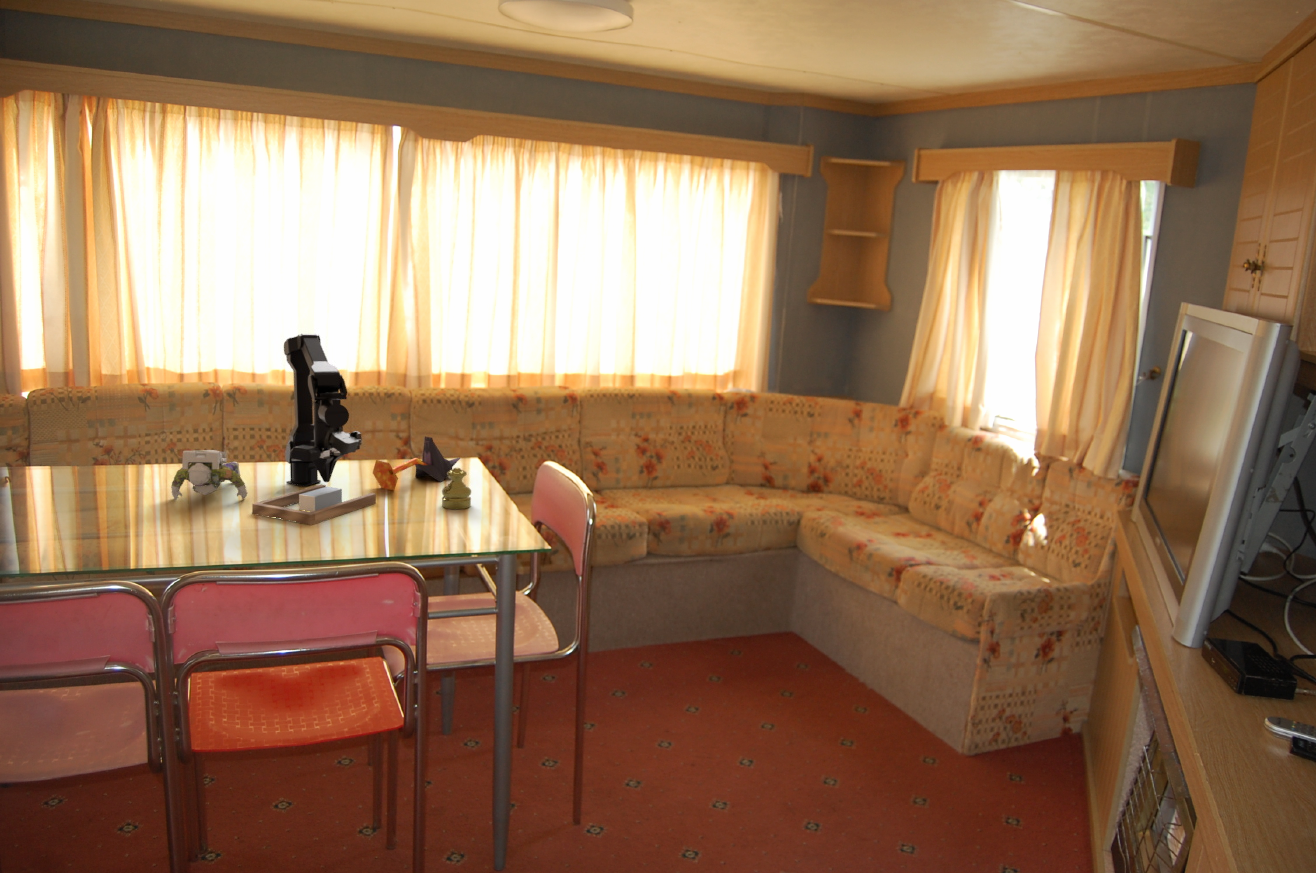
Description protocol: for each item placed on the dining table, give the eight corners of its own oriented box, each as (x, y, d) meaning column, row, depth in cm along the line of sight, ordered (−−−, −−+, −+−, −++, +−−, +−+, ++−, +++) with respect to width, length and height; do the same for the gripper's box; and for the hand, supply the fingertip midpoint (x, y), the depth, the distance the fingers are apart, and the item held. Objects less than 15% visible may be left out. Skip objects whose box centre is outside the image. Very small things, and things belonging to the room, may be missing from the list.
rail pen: (252, 514, 221) (252, 503, 220) (321, 493, 242) (321, 484, 242) (310, 525, 214) (310, 514, 214) (375, 503, 236) (375, 493, 236)
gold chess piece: (455, 500, 243) (456, 463, 241) (477, 505, 239) (477, 468, 237) (435, 506, 237) (436, 468, 235) (457, 511, 233) (457, 473, 231)
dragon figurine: (368, 457, 250) (431, 425, 270) (376, 497, 255) (438, 463, 274) (396, 463, 245) (459, 430, 265) (404, 504, 250) (465, 469, 269)
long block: (327, 501, 235) (299, 510, 226) (327, 486, 235) (299, 494, 225) (341, 504, 234) (313, 513, 224) (341, 488, 233) (313, 497, 224)
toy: (191, 496, 246) (154, 502, 217) (192, 449, 246) (155, 449, 217) (262, 496, 250) (235, 502, 220) (263, 450, 250) (236, 450, 221)
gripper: (325, 429, 216) (326, 494, 219) (377, 419, 234) (377, 479, 236) (288, 424, 220) (289, 487, 223) (341, 414, 237) (342, 473, 240)
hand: (326, 481), depth 231 cm, fingers closed
